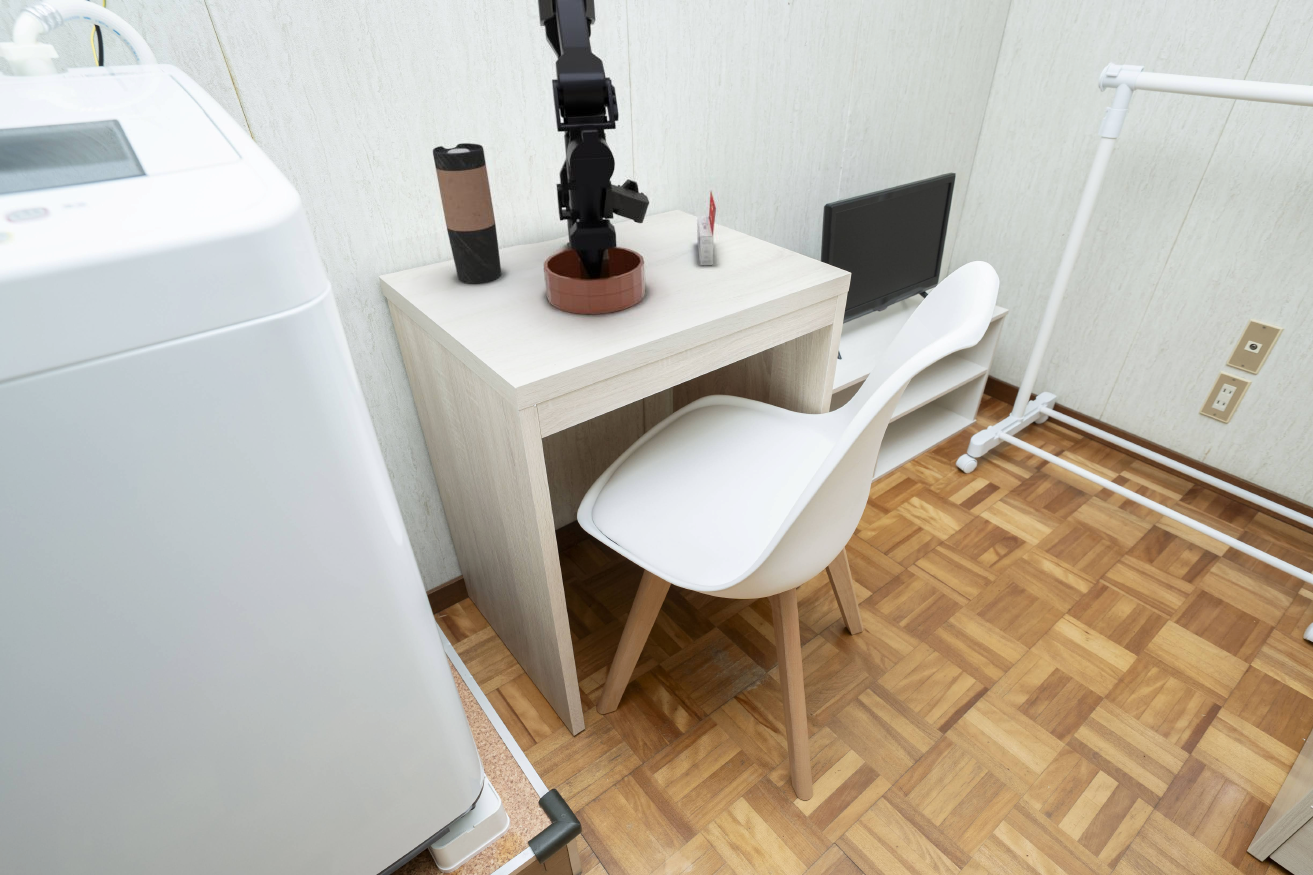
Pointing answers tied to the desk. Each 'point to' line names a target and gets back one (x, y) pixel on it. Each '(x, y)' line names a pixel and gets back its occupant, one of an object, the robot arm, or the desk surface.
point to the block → (604, 270)
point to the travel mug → (468, 211)
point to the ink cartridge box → (706, 235)
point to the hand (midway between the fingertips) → (595, 276)
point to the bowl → (595, 283)
